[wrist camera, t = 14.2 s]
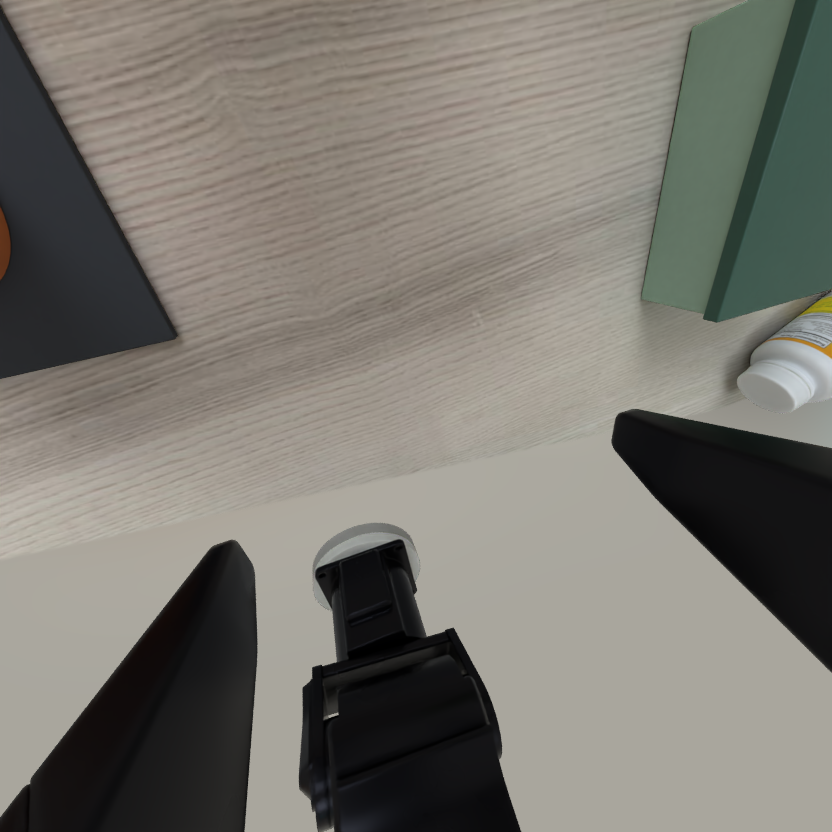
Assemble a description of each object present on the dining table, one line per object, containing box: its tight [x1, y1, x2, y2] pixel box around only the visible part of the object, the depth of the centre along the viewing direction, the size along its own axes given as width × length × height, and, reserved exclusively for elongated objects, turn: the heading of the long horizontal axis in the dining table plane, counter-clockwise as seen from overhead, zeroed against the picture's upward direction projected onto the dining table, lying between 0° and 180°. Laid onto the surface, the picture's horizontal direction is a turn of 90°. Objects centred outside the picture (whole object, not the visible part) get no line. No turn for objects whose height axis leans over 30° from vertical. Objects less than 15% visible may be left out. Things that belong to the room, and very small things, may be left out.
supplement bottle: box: [737, 291, 832, 413], centre depth 25 cm, size 6×6×10 cm
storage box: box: [641, 0, 832, 323], centre depth 17 cm, size 12×9×5 cm
